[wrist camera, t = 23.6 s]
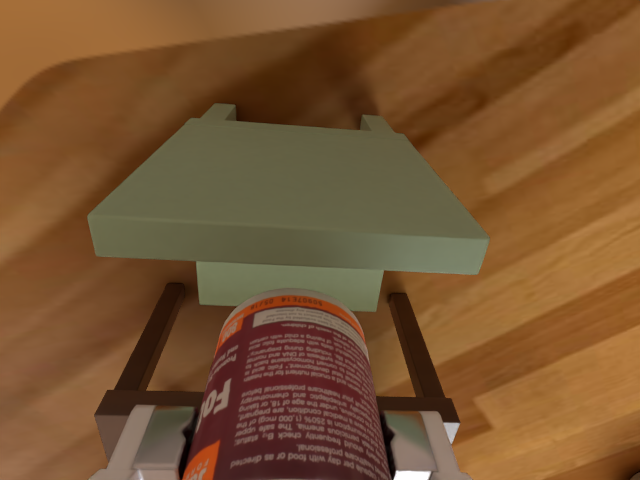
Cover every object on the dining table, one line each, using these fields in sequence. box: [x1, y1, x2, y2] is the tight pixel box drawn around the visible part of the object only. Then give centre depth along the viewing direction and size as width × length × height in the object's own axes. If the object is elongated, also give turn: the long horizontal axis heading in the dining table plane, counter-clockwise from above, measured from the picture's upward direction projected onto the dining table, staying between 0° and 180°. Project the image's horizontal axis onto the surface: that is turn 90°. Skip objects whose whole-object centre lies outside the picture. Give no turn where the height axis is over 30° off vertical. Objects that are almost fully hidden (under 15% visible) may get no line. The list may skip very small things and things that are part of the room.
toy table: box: [94, 283, 460, 463], centre depth 28 cm, size 14×18×11 cm
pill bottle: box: [182, 288, 392, 480], centre depth 10 cm, size 5×5×8 cm
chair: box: [87, 103, 490, 312], centre depth 19 cm, size 10×10×15 cm
